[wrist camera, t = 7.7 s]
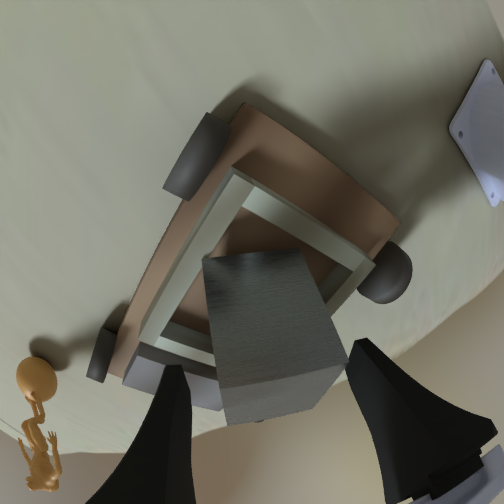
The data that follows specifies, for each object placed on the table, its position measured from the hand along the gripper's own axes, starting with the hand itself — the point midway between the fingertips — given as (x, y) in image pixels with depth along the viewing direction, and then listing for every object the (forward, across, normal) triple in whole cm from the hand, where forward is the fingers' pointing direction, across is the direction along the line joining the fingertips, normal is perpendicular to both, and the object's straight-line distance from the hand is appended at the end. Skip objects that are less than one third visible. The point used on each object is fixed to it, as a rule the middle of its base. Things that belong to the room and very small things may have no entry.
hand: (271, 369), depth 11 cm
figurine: (+7, +18, +8) cm, 21 cm away
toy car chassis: (+7, +1, +2) cm, 7 cm away
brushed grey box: (+5, 0, 0) cm, 5 cm away
